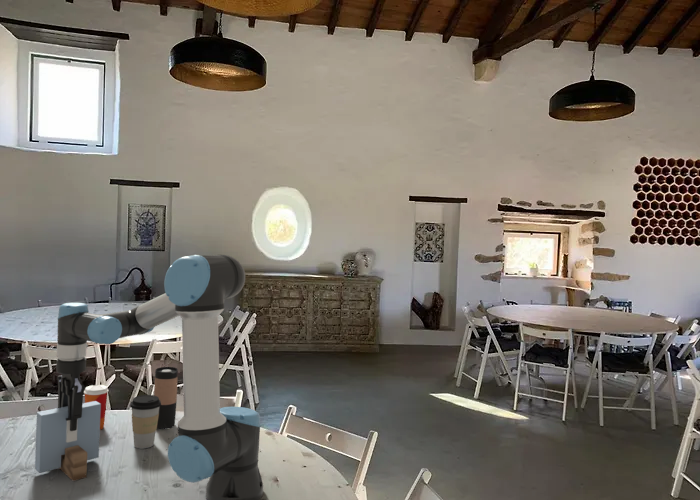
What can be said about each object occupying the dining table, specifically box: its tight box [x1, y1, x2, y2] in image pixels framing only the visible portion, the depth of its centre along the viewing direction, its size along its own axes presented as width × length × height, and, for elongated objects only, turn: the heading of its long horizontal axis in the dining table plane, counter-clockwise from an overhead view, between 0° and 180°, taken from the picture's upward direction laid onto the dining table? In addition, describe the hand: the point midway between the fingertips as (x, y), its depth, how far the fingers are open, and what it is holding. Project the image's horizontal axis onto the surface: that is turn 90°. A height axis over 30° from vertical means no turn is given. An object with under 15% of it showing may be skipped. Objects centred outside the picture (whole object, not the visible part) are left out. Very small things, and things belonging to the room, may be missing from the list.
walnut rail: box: [58, 445, 88, 482], centre depth 157 cm, size 18×4×7 cm, turn 47°
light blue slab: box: [34, 401, 101, 474], centre depth 157 cm, size 4×16×16 cm, turn 137°
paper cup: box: [83, 384, 109, 431], centre depth 187 cm, size 8×8×14 cm
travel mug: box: [153, 366, 179, 430], centre depth 193 cm, size 8×8×20 cm
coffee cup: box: [129, 394, 161, 450], centre depth 176 cm, size 9×9×15 cm
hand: (68, 438), depth 157 cm, fingers closed on light blue slab, 3 cm apart
